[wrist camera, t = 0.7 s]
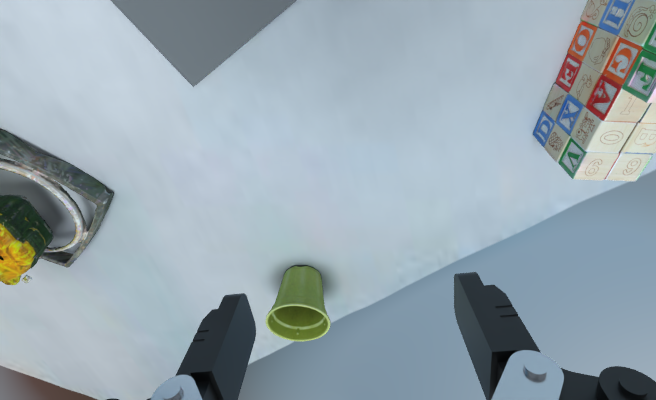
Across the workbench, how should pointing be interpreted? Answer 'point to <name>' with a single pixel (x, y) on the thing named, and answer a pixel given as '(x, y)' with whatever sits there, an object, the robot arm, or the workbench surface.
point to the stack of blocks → (605, 94)
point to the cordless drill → (24, 221)
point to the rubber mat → (200, 28)
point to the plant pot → (299, 306)
